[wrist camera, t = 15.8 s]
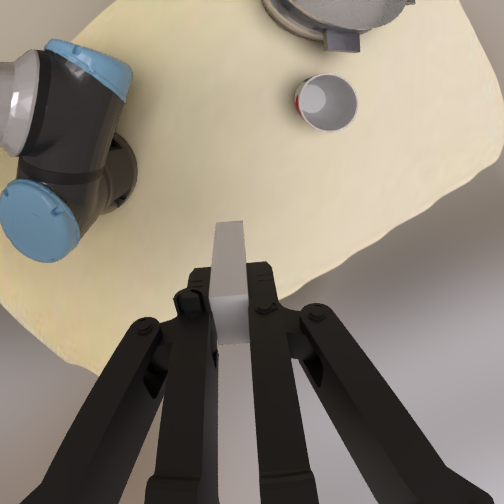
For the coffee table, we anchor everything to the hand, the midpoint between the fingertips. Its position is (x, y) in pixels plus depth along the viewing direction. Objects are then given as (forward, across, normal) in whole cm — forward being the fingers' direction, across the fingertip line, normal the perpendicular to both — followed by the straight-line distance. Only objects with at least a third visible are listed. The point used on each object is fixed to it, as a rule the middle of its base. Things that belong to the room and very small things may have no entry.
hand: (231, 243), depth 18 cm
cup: (+35, +13, +6) cm, 37 cm away
